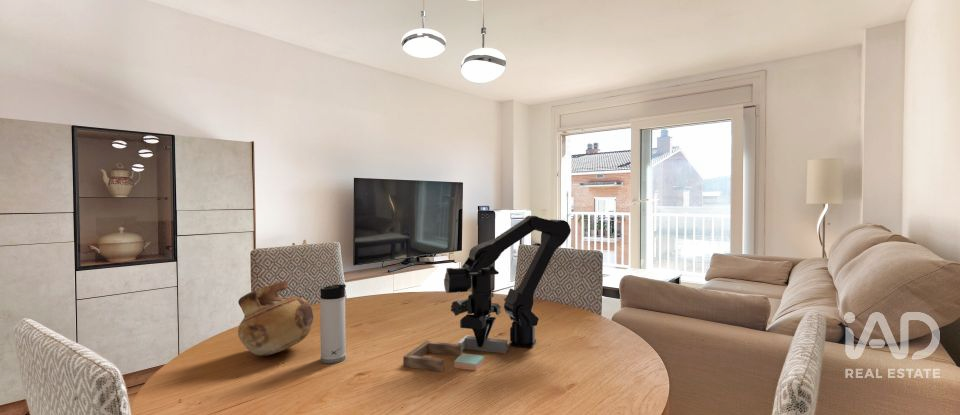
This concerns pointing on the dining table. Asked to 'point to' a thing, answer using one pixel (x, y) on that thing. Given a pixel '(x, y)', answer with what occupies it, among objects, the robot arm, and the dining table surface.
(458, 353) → the bay
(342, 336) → the travel mug
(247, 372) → the dining table surface
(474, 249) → the robot arm
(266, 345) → the clay pot
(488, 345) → the pusher tool
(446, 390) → the dining table surface
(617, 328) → the dining table surface
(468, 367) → the tile
